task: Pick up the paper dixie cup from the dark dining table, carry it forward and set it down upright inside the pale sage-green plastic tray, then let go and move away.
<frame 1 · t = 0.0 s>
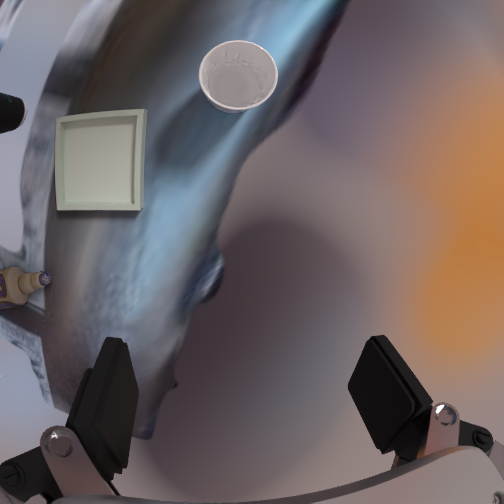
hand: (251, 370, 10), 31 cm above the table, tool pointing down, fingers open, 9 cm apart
dixie cup: (17, 114, 28), on the table
white cup: (232, 90, 33), on the table
decorative bottle: (13, 284, 39), on the table
tray: (100, 160, 34), on the table
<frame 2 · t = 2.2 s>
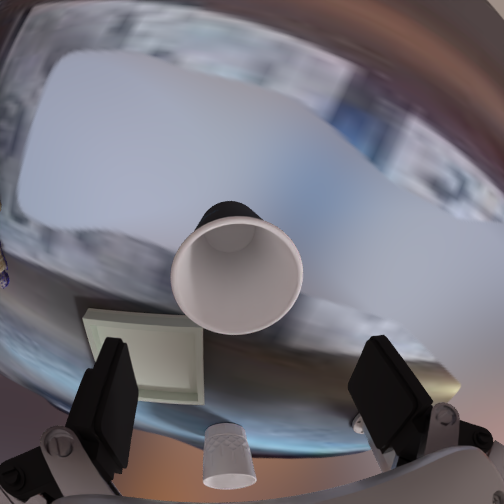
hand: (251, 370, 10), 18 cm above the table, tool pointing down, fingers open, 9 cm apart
dixie cup: (228, 226, 27), on the table
white cup: (224, 431, 40), on the table
tray: (149, 357, 31), on the table
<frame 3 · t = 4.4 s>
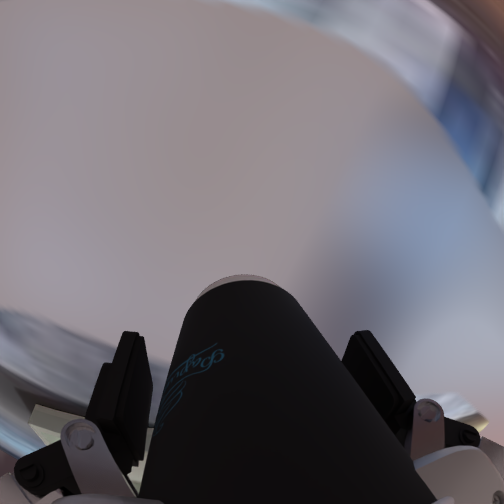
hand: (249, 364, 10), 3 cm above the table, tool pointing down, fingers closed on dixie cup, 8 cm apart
dixie cup: (241, 317, 13), on the table, touching gripper
tray: (129, 459, 18), on the table
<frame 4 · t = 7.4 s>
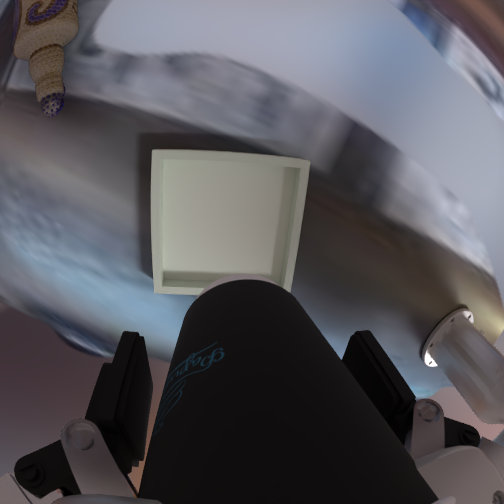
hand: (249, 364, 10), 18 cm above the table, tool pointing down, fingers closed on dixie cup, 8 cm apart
dixie cup: (241, 316, 13), point 15 cm above the table, touching gripper
decorative bottle: (52, 17, 15), on the table
tray: (225, 222, 27), on the table
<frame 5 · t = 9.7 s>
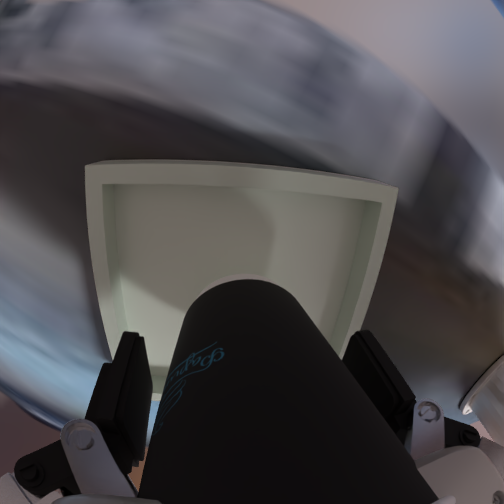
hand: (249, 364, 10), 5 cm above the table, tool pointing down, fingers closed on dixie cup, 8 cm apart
dixie cup: (241, 316, 13), point 2 cm above the table, touching gripper
tray: (235, 294, 15), on the table
when the fingers open (5 cm above the table, at t = 10.8 s): dixie cup drops 1 cm, resting on tray.
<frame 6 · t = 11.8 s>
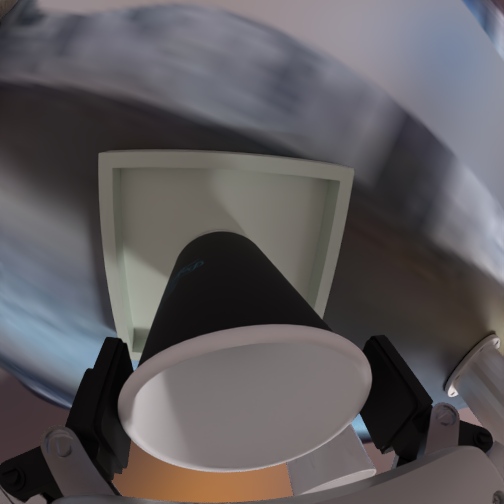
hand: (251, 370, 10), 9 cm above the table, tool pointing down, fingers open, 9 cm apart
dixie cup: (219, 265, 17), resting on tray
white cup: (307, 411, 27), on the table
tray: (220, 262, 18), on the table
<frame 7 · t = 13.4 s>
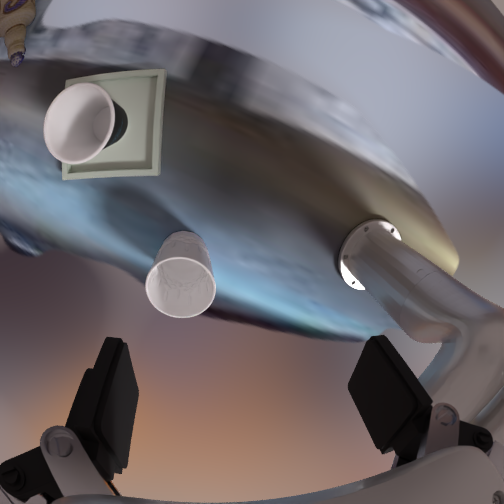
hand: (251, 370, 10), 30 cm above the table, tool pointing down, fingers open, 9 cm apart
dixie cup: (111, 124, 30), resting on tray
white cup: (184, 252, 39), on the table
decorative bottle: (21, 10, 17), on the table
tray: (112, 124, 30), on the table
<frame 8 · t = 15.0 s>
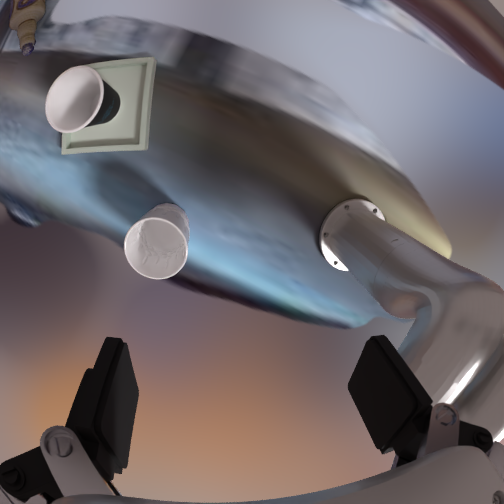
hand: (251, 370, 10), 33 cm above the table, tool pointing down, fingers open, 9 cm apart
dixie cup: (106, 106, 32), resting on tray
white cup: (167, 224, 41), on the table
decorative bottle: (32, 7, 21), on the table
tray: (108, 106, 33), on the table
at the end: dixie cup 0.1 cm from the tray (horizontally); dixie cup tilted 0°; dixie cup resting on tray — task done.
